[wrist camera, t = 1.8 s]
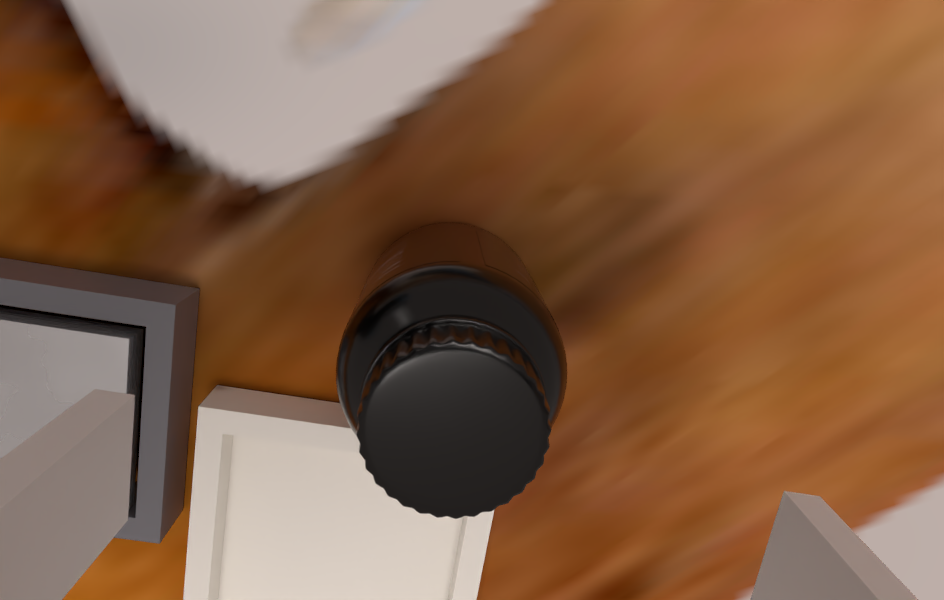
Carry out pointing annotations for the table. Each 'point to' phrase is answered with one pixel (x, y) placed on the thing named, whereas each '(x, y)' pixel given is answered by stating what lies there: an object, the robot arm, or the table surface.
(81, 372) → the grey square tile
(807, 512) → the robot arm
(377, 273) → the supplement bottle
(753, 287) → the table surface
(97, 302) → the grey square framed panel
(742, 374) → the table surface
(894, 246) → the table surface
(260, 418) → the dish
